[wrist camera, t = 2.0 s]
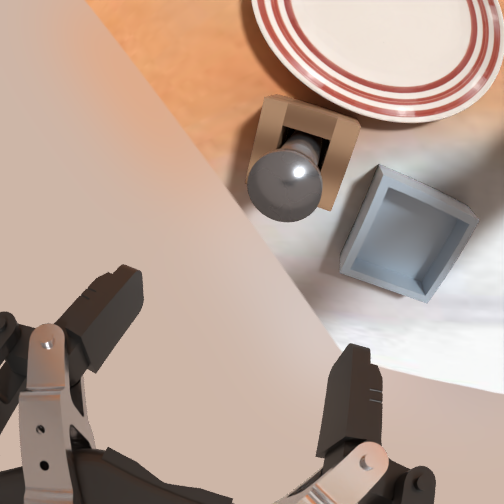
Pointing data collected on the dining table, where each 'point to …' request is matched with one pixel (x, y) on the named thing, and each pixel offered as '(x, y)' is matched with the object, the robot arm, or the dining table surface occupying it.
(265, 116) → the block
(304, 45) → the dinner plate
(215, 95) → the dining table surface
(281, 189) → the pin
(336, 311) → the dining table surface
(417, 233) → the tray
